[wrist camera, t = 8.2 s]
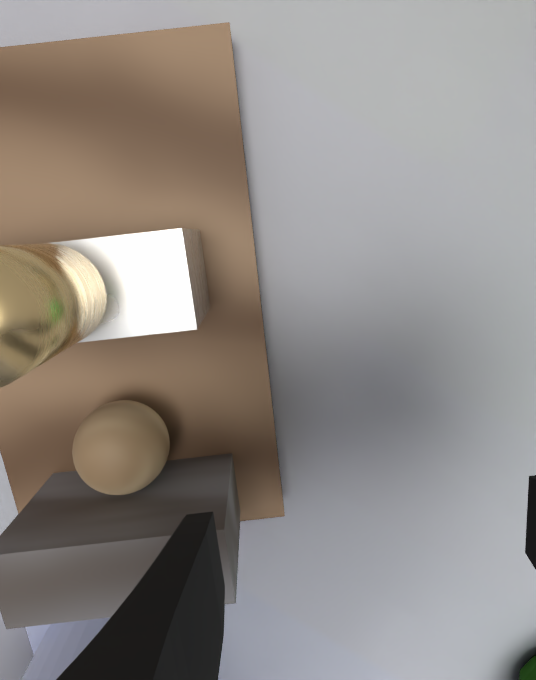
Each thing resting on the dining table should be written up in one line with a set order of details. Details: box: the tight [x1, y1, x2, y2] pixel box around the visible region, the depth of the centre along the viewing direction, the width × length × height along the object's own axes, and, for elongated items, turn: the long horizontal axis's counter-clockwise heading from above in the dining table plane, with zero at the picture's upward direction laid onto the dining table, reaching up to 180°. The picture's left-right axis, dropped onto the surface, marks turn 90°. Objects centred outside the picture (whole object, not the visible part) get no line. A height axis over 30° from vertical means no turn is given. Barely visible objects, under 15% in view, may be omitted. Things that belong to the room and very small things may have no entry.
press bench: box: [0, 23, 285, 629], centre depth 16 cm, size 20×12×6 cm, turn 6°
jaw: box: [0, 228, 210, 388], centre depth 13 cm, size 3×8×8 cm, turn 96°
